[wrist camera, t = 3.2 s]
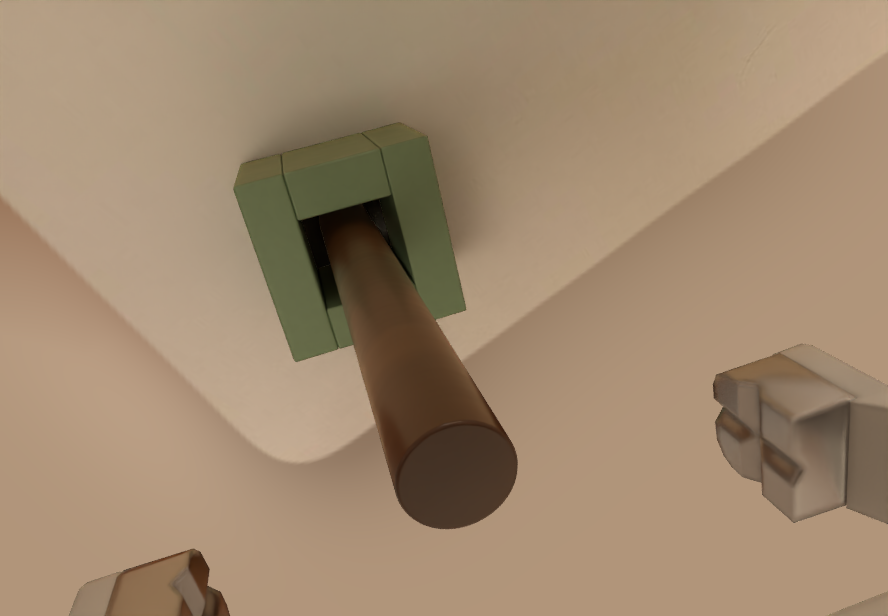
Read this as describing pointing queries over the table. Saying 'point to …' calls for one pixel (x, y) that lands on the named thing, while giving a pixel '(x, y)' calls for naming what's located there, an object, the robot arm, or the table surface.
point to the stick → (416, 385)
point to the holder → (337, 187)
